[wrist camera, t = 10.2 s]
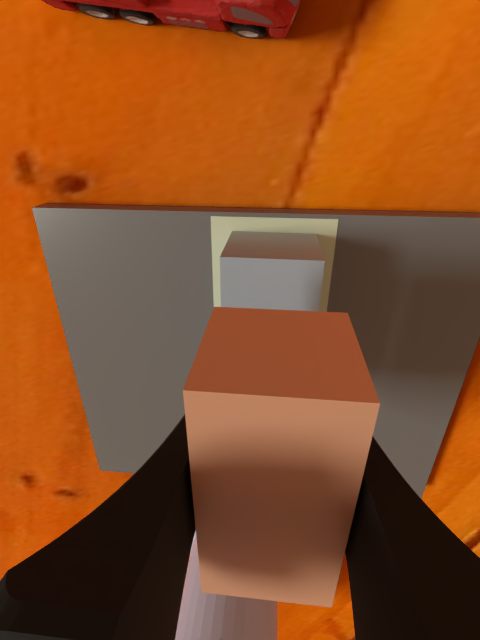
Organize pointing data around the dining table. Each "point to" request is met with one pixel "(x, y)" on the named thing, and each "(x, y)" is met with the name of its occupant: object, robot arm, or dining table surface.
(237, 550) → the terracotta brick
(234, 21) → the toy fire truck
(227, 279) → the slate brick
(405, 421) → the baseplate
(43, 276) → the dining table surface
